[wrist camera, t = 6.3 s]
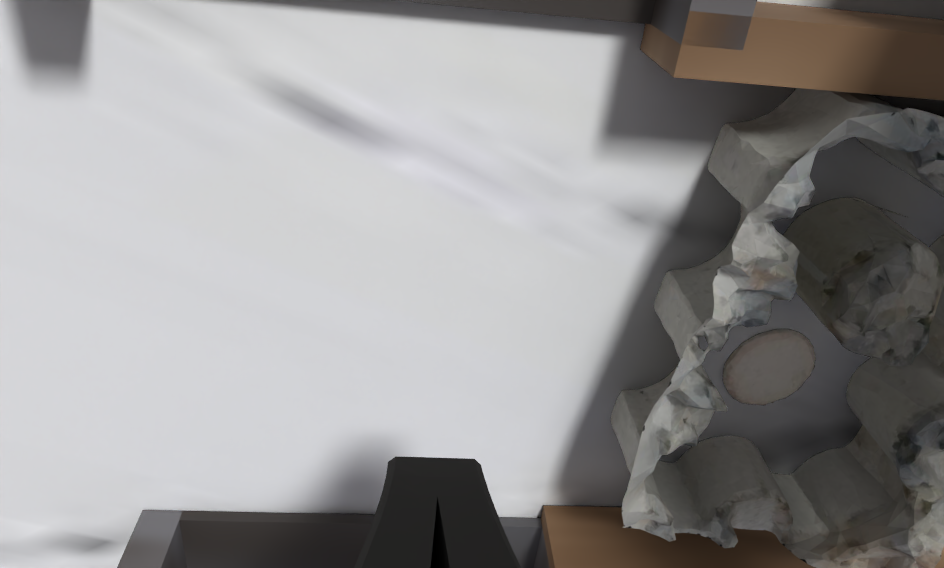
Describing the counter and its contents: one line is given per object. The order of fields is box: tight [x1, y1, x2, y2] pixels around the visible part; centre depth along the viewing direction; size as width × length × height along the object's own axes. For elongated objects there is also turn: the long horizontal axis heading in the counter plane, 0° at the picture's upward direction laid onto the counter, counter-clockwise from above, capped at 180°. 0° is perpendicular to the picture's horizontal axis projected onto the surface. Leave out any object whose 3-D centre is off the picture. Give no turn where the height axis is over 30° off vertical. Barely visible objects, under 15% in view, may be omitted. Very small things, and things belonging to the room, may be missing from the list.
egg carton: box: [610, 88, 944, 568], centre depth 14 cm, size 11×8×4 cm
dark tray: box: [117, 0, 944, 568], centre depth 15 cm, size 21×24×3 cm
